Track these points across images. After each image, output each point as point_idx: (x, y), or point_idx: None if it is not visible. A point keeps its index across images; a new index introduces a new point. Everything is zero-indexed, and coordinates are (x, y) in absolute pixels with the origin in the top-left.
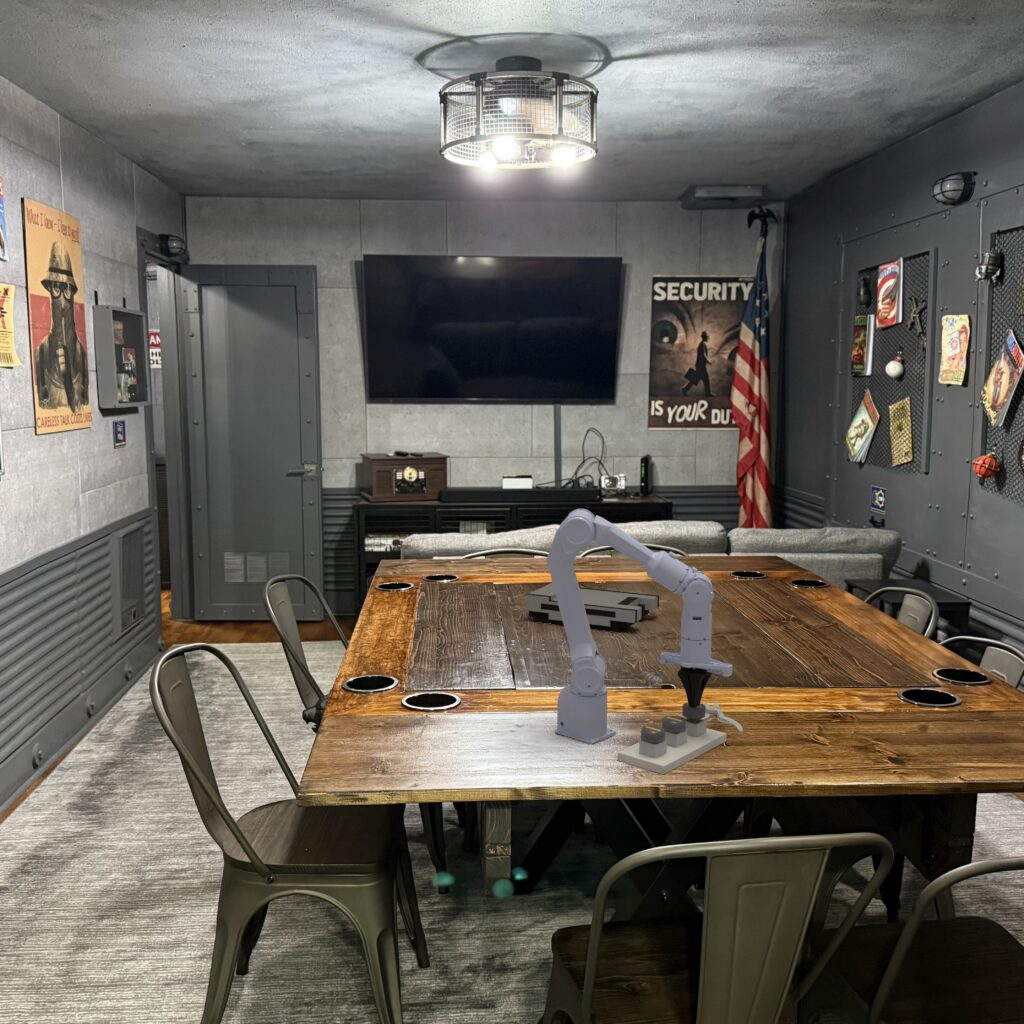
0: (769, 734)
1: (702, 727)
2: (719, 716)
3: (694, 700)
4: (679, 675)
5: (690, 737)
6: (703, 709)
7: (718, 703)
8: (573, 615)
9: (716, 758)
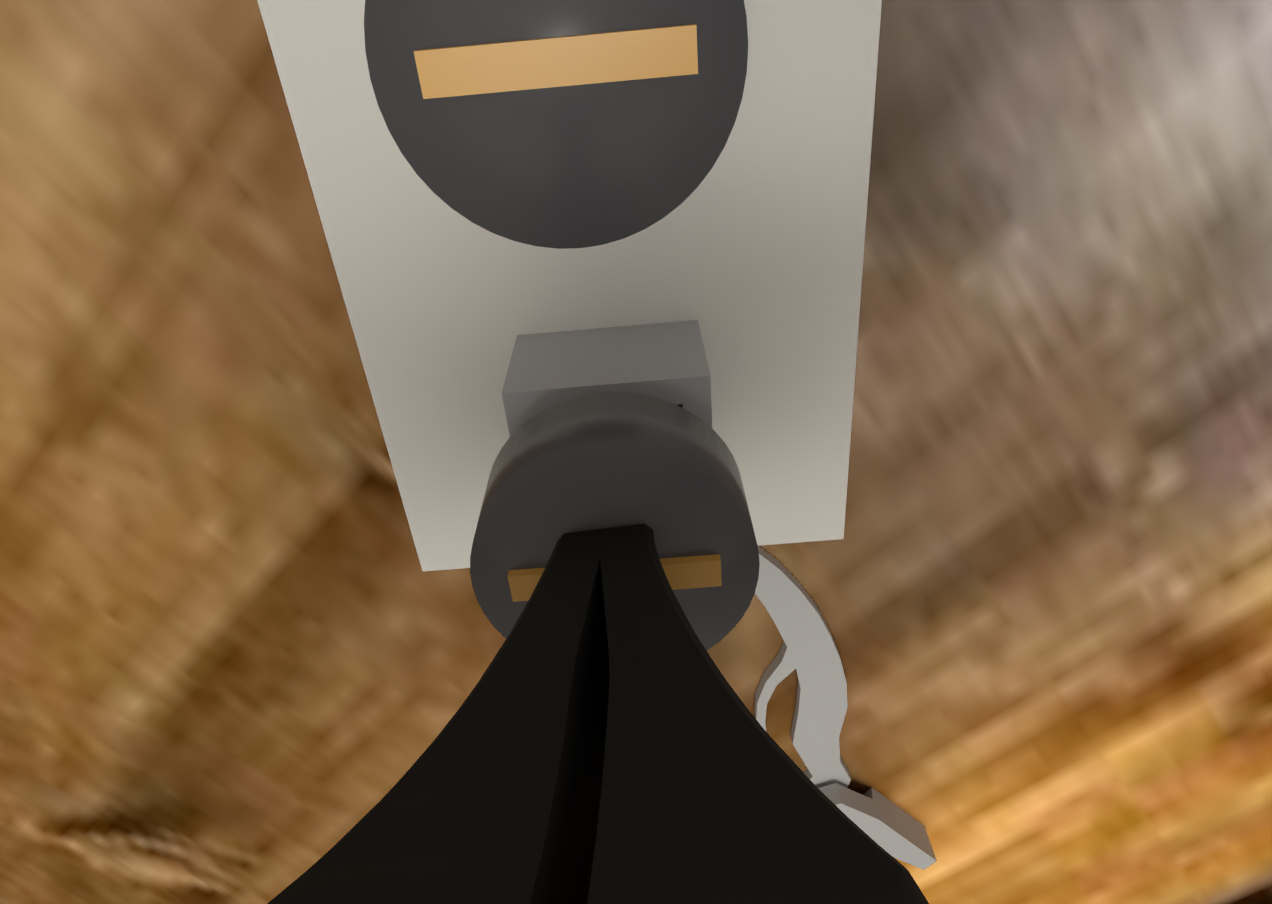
0: (355, 766)
1: None
2: None
3: (541, 586)
4: (845, 872)
5: (556, 297)
6: (473, 571)
7: None
8: None
9: (180, 176)
